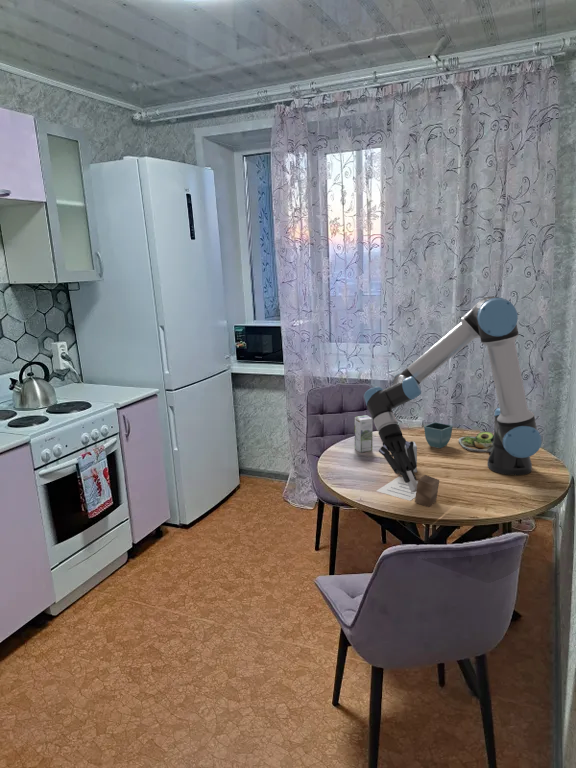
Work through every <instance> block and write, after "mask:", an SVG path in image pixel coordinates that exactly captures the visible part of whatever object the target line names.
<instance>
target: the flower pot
mask: <svg viewBox="0 0 576 768" xmlns="http://www.w3.org/2000/svg"><path fill="white" fill-rule="evenodd" d="M453 427H454V426H453V425H451V424H445V423H441V422H431V423H430V424H429V423H428V424H427V425H424V426H423V429H424V436H425V440H426V442H427V444H428V445H429V446H430V447H433V448H437V449H442V448H445V447H446V446H447V445H448V444H449V442H450V440H451V438H452V433H453Z"/></svg>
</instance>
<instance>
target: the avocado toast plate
mask: <svg viewBox="0 0 576 768" xmlns="http://www.w3.org/2000/svg"><path fill="white" fill-rule="evenodd" d="M493 443H494V433H492V432H490V431H482V432H479V433H477V434H476V436H462V437H459V438H458V444H460V446H461V447H462V448H463V449H465V450H466V449H467V451H470V452H475V453H491V451H492V449H493ZM473 446H474V448H471V447H473ZM476 447H477V448H478V449H477V448H476Z"/></svg>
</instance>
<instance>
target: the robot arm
mask: <svg viewBox="0 0 576 768" xmlns="http://www.w3.org/2000/svg"><path fill="white" fill-rule="evenodd" d="M518 317H519V315H518V311H517V308H516V306H515V305H514V304H513V303H512V302H511V301H509V300H508V299H506V298H503V297H498V296H487V297H486V296H485V297H484V298H481V299H480V300H479V301H478V302H477V303H476V304H474V305H473V307H472V308H471V309H470V310H469V311H467V313H465V314H464V315H463V316H462V317H461V321H460V322H459V323H458V324H457V325H456V326H454V327H453V328H452V329H451V330H450V331H448V332H447V334H445V335H444V336H443V337H441V338H440V339H439V340H438V341H437V342H436V343H434V344H433V345H432V346H431V347H430V348H429V349H428V350H426V351H425V352H424V353H422V354H421V355H420V356H419V357H418V358H416V360H414V361H413V362H412V363H411V364H409V365H408V366H407V367H406V368H405V369H404V370H403V371H401V372H398V373H397V374H396V375H395V376H394V378H393V380H392V384H391V386H388V387H387V388H385V389H383V388H382V387H381V386H374V387H370V388H369V389H367V390H366V391H365V392H364V394H363V399H364V401H365V405H366V408H367V410H368V413H369V414H370V417H371V418H372V419H373V424H374V426H375V428H376V431H377V432H378V436H379V438H380V441H381V442H382V446H381V447H380V448H379V450H378V452H379V454H380V455H382V456H383V458H384V459H385V460H386V461H387V463H388V464H389V466H390V467H391V469H392V471H393V472H394V473H395V474H396V475H397V474H399V476H400V477H403V479H404V481H405V483H408V486H409V488H410V490H411V493H413V492H416V490H417V483H416V481H417V477H416V474H415V472H413V470H414V469H415V468H416V467H417V466H418V464H417V465H416V460H415V455H414V450H413V444H414V443H413V442H414V441H407V440H406V438H405V437H404V436H403V432H402V429H401V427H400V425H399V424H398V423H397V422H398V420H397V419H396V415H395V414H394V412H393V409H395V408H397V407H400V406H401V405H403V404H406V403H408V402H410V401H412V400H414V399H416V398H417V397H420V396H421V395H422V390H421V386H420V384H421V383H422V382H423V381H425V380H426V379H427V378H428V377H429V376H431V375H432V374H433V373H434V372H436V371H437V370H438V369H439V368H441V367H442V366H443V365H444V364H445V363H447V362H448V361H449V360H450V359H451V358H453V357H454V356H455V355H456V354H457V353H459V352H460V351H461V350H462V349H464V348H465V347H466V346H467V345H469V344H470V343H471V342H473V340H475V339H480V343H482V345H484V346H486V347H487V352H488V358H489V362H490V366H491V367H490V368H491V373H492V377H493V381H494V386H495V392H496V396H497V402H498V406H499V407H497V408H496V409H495V411H494V415H493V417H494V422H493V423H494V424H493V425H494V426H493V435H494V443H493V449H492V451H491V452H489V456H488V458H487V468H488V469H489V470H491V471H493V472H495V473H498V474H500V475H501V474H502V475H506V476H525V475H528V474H530V473H531V472H532V470H533V463H532V460H531V457H532V456H534V455H535V454H537V452H538V451H539V450H540V448H541V447H542V443H543V442H542V435H541V434H540V431H539V430H538V429H537V422H536V417H535V414H534V412H533V411H531V410H529V408H528V403H527V402H528V401H527V398H526V393H525V388H524V382H523V376H522V372H521V367H520V361H519V355H518V351H517V347H516V339H517V338H518V336H519V335H520V334H519V329H518V319H519V318H518ZM405 445H406V448H407V454H408V456H407V454H406V450H405ZM417 468H418V467H417ZM406 471H407V472H406ZM415 480H416V481H415Z"/></svg>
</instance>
